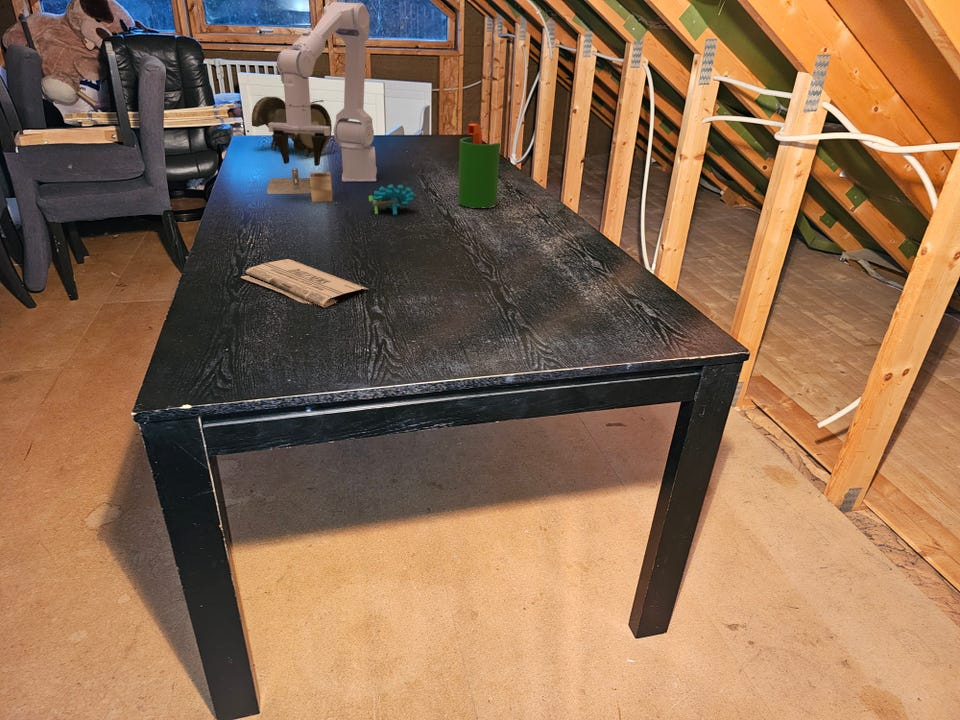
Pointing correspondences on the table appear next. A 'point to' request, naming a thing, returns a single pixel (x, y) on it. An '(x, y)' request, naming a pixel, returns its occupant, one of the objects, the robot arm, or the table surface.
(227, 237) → the table surface
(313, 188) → the hollow square block
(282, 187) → the base plate
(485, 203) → the green cylindrical container
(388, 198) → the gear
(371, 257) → the table surface
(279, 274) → the newspaper
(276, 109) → the bench grinder
